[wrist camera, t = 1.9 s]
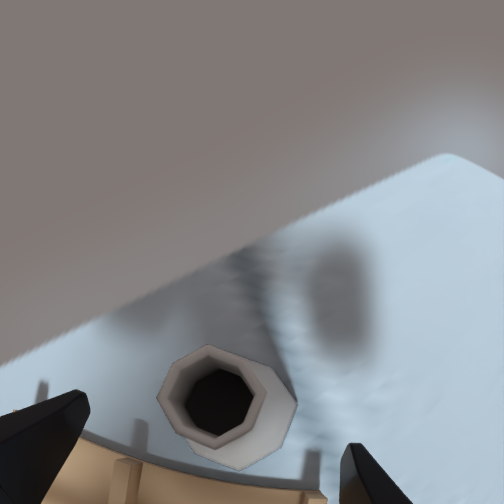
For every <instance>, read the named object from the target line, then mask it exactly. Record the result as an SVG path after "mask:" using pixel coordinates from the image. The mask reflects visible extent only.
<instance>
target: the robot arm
mask: <svg viewBox="0 0 504 504" xmlns="http://www.w3.org/2000/svg"><path fill="white" fill-rule="evenodd" d="M89 415H90V405H89V402H88V398H87V395H86V393H85V392H82V391H80V390H77V389H75V390H72V391H70V392H67V393H64V394H62V395H59V396H56V397H54V398H51V399H48V400H46V401H43V402H40V403H38V404H35V405H32V406H29V407H26V408H24V409H21V410H18V411H15V412H12V413H9V414H6V415H3V416H1V417H0V504H41V503H42V501H43V499H44V497H45V496H46V494H47V492H48V490H49V489H50V487H51V485H52V483H53V482H54V480H55V478H56V477H57V475H58V473H59V472H60V470H61V468H62V467H63V465H64V463H65V462H66V460H67V458H68V457H69V455H70V453H71V452H72V450H73V448H74V447H75V445H76V443H77V441H78V439H79V437H80V434H81V432H82V430H83V428H84V426H85V424H86V421H87V419H88V417H89ZM339 504H413V503H412V502H411V501H410V500H409V499H408V497H407V496H406V495H405V494H404V493H403V492H402V491H401V489H400V488H399V487H398V486H397V485H396V484H395V482H394V481H393V480H392V479H391V478H390V477H389V475H388V474H387V473H386V472H385V471H384V470H383V468H382V467H381V466H380V465H379V464H378V463H377V461H376V460H375V459H374V458H373V457H372V455H371V454H370V453H369V452H368V451H367V449H366V448H365V447H364V446H363V445H362V444H361V443H349V444H348V445H347V447H346V449H345V451H344V454H343V456H342V458H341V463H340V492H339Z"/></svg>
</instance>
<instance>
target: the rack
mask: <svg viewBox="0 0 504 504" xmlns="http://www.w3.org/2000/svg"><path fill="white" fill-rule="evenodd" d="M15 411H18V410H13V412H15ZM327 501H328V499H327V498H326V497H325V496H324V495H323V494H322V493H321V491H320V490H298V489H283V488H272V487H263V486H254V485H247V484H240V483H234V482H228V481H222V480H217V479H212V478H207V477H202V476H197V475H193V474H189V473H185V472H180V471H177V470H173V469H169V468H165V467H162V466H158V465H155V464H152V463H148V462H145V461H142V460H139V459H136V458H133V457H130V456H127V455H124V454H122V453H119V452H116V451H113V450H111V449H108V448H106V447H103V446H101V445H98V444H96V443H93V442H91V441H89V440H86V439H84V438H82V437H79V439H78V441H77V443H76V445H75V447H74V448H73V450H72V452H71V453H70V455H69V457H68V458H67V460H66V462H65V463H64V465H63V467H62V468H61V470H60V472H59V473H58V475H57V477H56V478H55V480H54V482H53V483H52V485H51V487H50V489H49V490H48V492H47V494H46V496H45V497H44V499H43V501H42V503H41V504H327Z"/></svg>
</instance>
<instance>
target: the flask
mask: <svg viewBox="0 0 504 504" xmlns="http://www.w3.org/2000/svg"><path fill="white" fill-rule="evenodd" d="M157 400H158V402H159V404H160V406H161V408H162V409H163V411H164V413H165V415H166V417H167V418H168V420H169V422H170V424H171V425H172V427H173V429H174V431H175V432H176V433H177V434H179V435H181V436H183V437H185V439H186V440H187V442H188V444H189V445H190V447H191V448H192V450H193V452H194V453H195V454H197V455H200V456H202V457H204V458H207V459H209V460H212V461H214V462H217V463H219V464H222V465H224V466H227V467H230V468H232V469H235V470H238V471H241V470H243V469H245V468H247V467H249V466H251V465H252V464H254V463H256V462H258V461H260V460H261V459H263V458H265V457H267V456H268V455H270V454H272V453H273V452H275V451H277V450H278V449H280V448H282V445H283V443H284V440H285V438H286V435H287V433H288V430H289V428H290V425H291V422H292V420H293V417H294V415H295V412H296V409H297V407H298V404H297V403H296V401H295V400H294V398H293V397H292V396H291V394H290V393H289V391H288V390H287V388H286V387H285V386H284V384H283V383H282V381H281V380H280V378H279V377H278V376H277V374H276V373H275V371H274V370H273V368H272V367H269V366H266V365H263V364H260V363H257V362H254V361H252V360H249V359H246V358H243V357H241V356H238V355H235V354H233V353H230V352H226V351H223V350H221V349H218V348H216V347H213V346H211V345H208V344H207V345H205V346H203V347H201V348H199V349H198V350H196V351H194V352H192V353H190V354H189V355H187V356H185V357H183V358H181V359H179V360H177V361H176V362H174V363H172V366H171V368H170V370H169V372H168V374H167V376H166V378H165V381H164V383H163V385H162V387H161V389H160V391H159V393H158V396H157Z"/></svg>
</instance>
